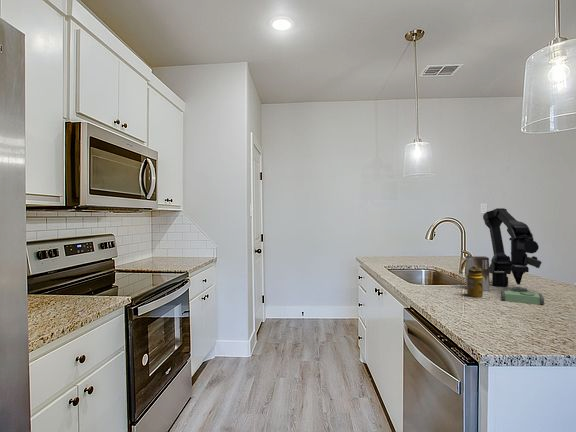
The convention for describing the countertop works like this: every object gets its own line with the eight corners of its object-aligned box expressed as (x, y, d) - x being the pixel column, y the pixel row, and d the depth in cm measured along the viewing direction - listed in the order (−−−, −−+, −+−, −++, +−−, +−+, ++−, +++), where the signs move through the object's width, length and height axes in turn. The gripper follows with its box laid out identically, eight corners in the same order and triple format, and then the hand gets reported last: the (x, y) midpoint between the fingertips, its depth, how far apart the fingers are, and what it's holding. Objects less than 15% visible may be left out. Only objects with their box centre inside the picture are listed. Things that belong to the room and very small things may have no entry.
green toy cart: (501, 300, 140) (501, 292, 140) (500, 294, 151) (500, 286, 151) (544, 305, 133) (543, 296, 133) (539, 298, 144) (539, 290, 144)
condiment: (487, 298, 146) (487, 271, 146) (469, 298, 144) (469, 271, 144) (475, 294, 153) (475, 268, 153) (459, 294, 152) (458, 268, 152)
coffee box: (486, 288, 164) (485, 256, 164) (489, 291, 158) (489, 257, 158) (465, 287, 167) (465, 255, 167) (468, 290, 161) (468, 257, 161)
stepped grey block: (513, 298, 145) (513, 288, 145) (512, 295, 150) (512, 285, 150) (527, 299, 142) (527, 289, 142) (525, 296, 147) (525, 286, 147)
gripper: (543, 254, 141) (543, 290, 141) (537, 249, 157) (537, 282, 157) (511, 252, 146) (511, 287, 146) (509, 248, 162) (509, 280, 162)
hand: (518, 284), depth 153 cm, fingers closed
